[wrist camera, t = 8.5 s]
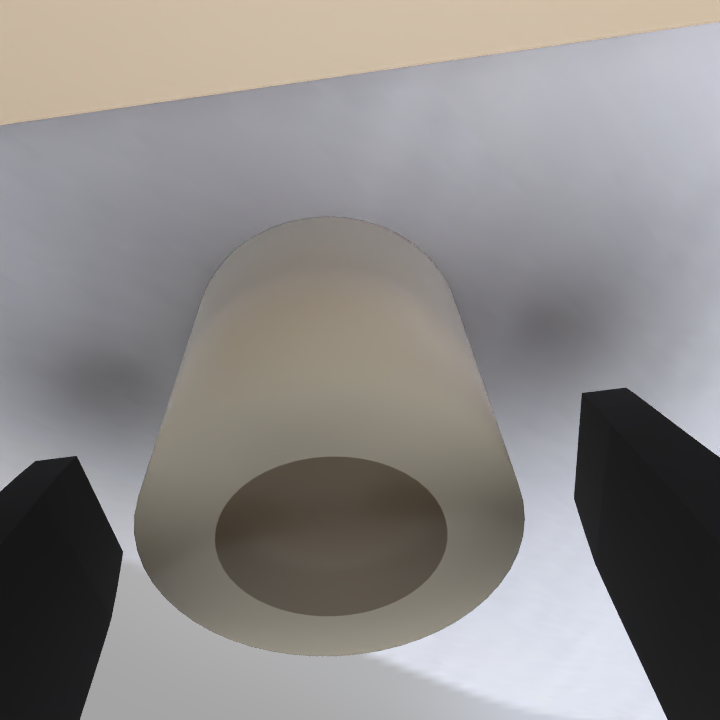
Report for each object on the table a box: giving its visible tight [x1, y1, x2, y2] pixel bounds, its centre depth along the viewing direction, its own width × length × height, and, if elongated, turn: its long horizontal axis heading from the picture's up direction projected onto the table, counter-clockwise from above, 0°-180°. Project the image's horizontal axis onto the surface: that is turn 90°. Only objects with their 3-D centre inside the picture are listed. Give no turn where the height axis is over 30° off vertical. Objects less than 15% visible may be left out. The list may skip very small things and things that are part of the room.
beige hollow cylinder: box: [134, 217, 525, 656], centre depth 11 cm, size 5×5×5 cm
